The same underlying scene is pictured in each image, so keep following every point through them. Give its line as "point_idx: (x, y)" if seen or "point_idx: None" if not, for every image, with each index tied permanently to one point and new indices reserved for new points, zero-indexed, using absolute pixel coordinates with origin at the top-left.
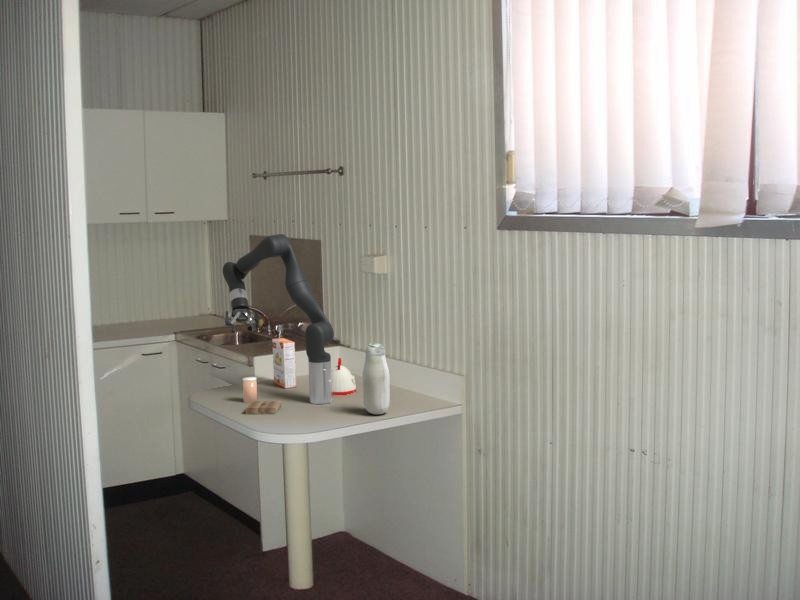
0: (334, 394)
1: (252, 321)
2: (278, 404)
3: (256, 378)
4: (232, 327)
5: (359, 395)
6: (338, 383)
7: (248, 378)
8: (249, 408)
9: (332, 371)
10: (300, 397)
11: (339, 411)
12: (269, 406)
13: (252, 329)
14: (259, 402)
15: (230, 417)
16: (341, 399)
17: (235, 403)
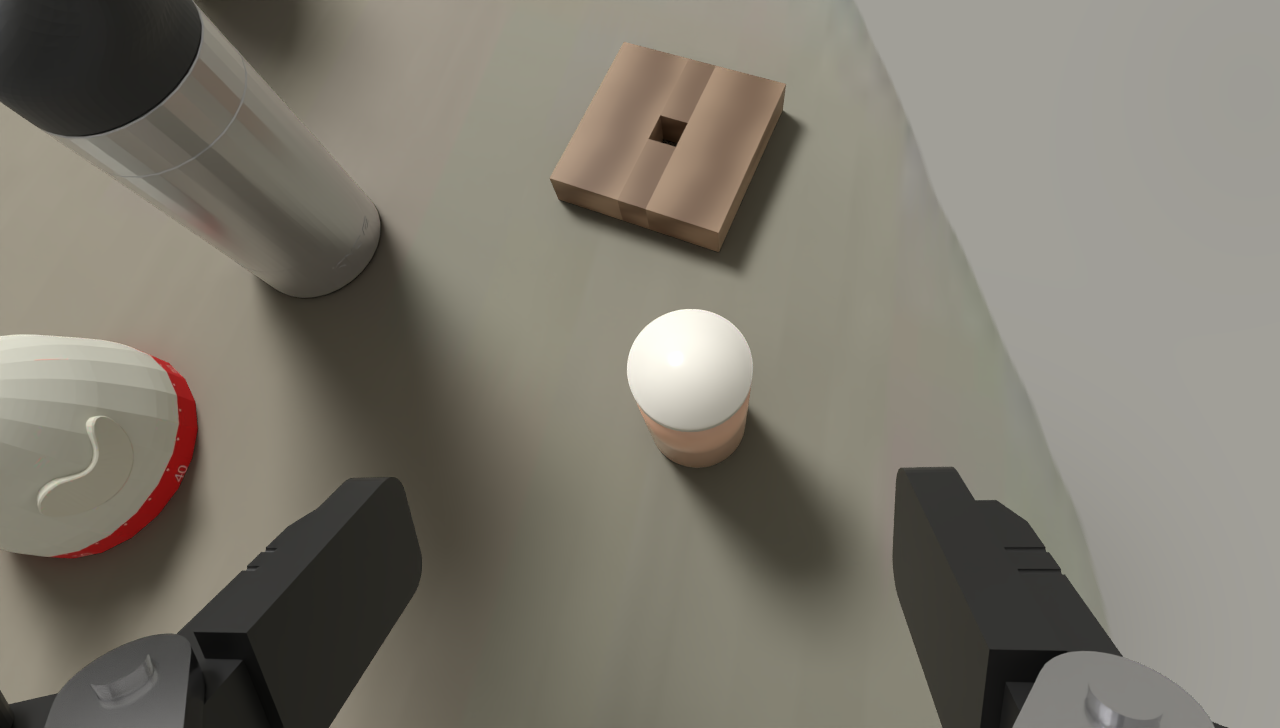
0: (171, 369)
1: (147, 708)
2: (586, 111)
3: (631, 352)
4: (1013, 580)
5: (70, 313)
6: (86, 342)
7: (701, 349)
8: (763, 80)
9: (4, 391)
10: (369, 402)
11: (337, 29)
12: (647, 77)
13: (367, 596)
14: (679, 186)
15: (874, 73)
16: (200, 256)
17: (805, 401)
